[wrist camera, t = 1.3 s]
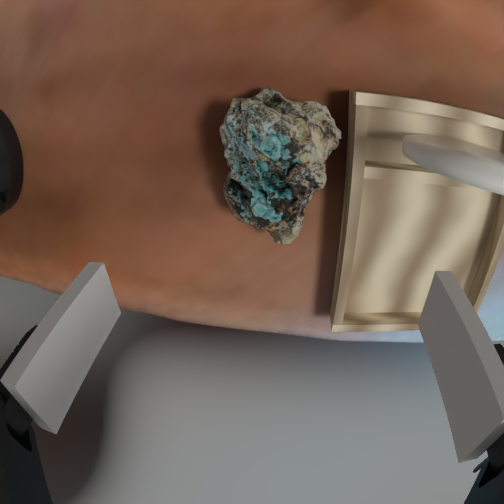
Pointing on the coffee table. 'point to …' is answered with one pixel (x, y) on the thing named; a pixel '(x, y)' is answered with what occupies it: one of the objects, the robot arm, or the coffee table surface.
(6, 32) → the coffee table surface
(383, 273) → the wooden tray
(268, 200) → the mineral specimen
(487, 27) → the coffee table surface
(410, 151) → the standing plate
